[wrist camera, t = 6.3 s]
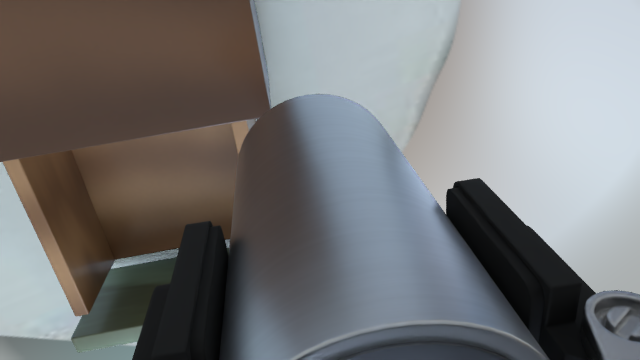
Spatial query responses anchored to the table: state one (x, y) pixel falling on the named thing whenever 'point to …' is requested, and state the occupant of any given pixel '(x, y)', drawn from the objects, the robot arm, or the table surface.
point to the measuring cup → (351, 251)
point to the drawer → (125, 217)
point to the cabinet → (125, 70)
